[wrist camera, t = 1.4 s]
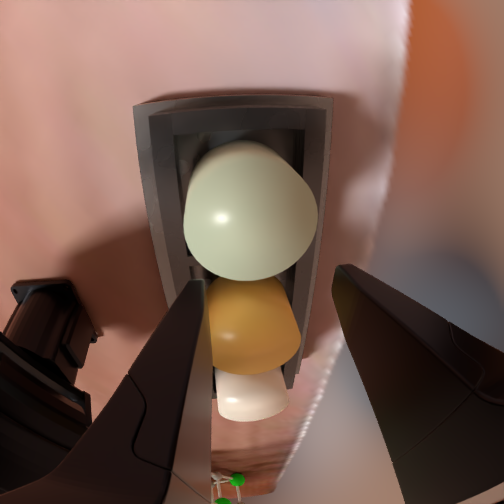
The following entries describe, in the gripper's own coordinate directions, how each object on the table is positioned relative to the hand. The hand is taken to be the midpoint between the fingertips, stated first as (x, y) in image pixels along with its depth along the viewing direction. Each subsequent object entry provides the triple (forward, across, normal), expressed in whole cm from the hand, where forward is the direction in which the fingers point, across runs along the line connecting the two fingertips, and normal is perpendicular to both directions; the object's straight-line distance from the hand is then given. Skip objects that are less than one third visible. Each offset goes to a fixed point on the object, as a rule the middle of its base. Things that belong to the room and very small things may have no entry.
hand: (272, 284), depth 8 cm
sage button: (+7, 0, 0) cm, 7 cm away
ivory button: (+7, 0, +14) cm, 16 cm away
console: (+10, 0, +7) cm, 12 cm away
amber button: (+7, 0, +7) cm, 10 cm away
